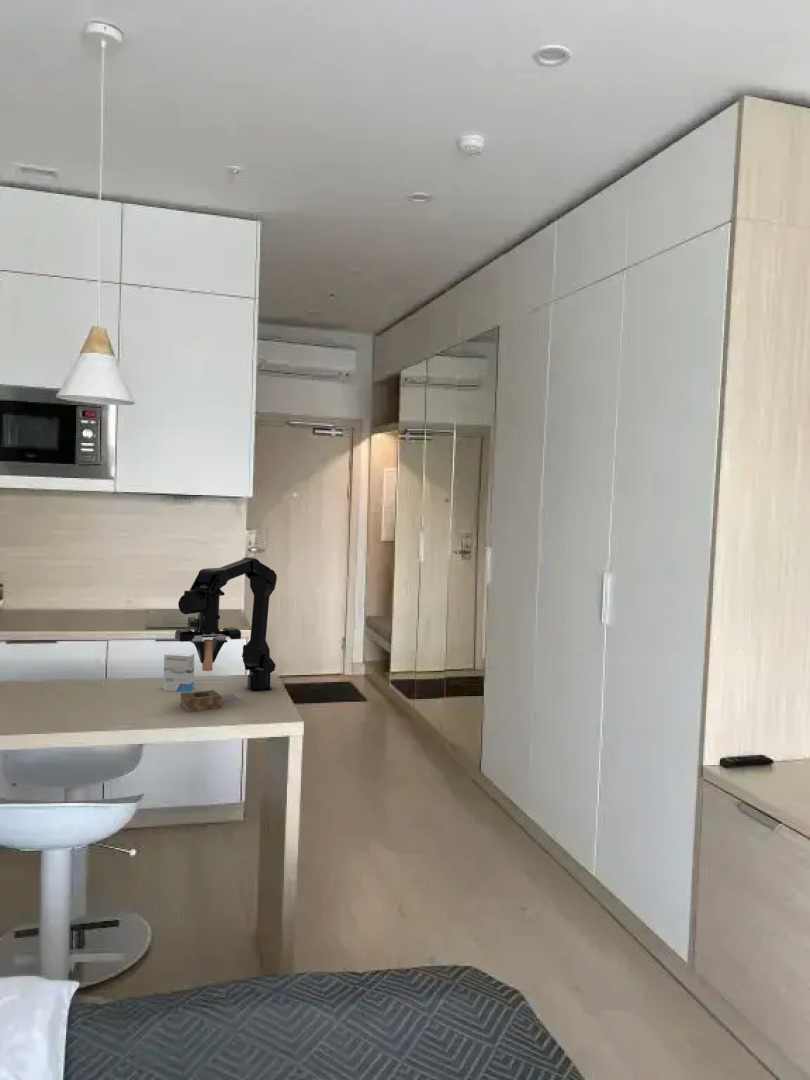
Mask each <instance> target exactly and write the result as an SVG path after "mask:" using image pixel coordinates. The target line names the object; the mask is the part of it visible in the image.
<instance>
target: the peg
mask: <svg viewBox="0 0 810 1080" xmlns="http://www.w3.org/2000/svg"><path fill="white" fill-rule="evenodd" d="M202 641H203V642H204V660H203V663H201V666H202V667H201V671H203V672H212V671H213V640H212V639H209V638H208V639H202Z"/></svg>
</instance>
